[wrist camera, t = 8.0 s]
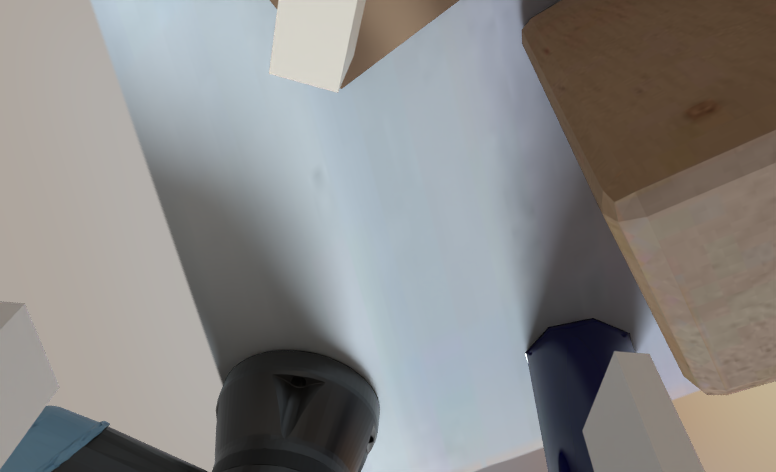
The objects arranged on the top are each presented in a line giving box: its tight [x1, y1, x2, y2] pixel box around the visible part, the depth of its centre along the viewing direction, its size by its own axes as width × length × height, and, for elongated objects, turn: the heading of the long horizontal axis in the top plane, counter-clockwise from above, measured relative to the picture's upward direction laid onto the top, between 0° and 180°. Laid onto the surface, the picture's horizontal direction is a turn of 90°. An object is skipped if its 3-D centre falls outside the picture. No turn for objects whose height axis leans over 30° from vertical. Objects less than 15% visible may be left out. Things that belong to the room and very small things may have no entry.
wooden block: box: [522, 0, 776, 395], centre depth 23 cm, size 10×10×20 cm
